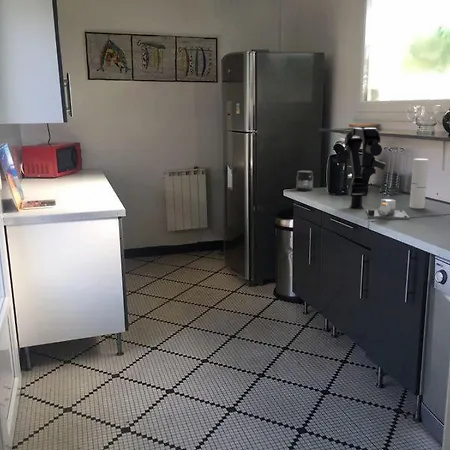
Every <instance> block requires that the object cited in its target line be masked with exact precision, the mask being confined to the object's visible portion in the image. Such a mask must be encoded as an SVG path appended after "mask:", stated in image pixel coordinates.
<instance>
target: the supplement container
mask: <svg viewBox="0 0 450 450" xmlns="http://www.w3.org/2000/svg"><path fill="white" fill-rule="evenodd" d="M296 174H297V175H296V187H295V188H296V190H297V191H299V192H311V191H313V189H314V176H313V174H314V172H313V171H312V170H298V171H297V173H296Z"/></svg>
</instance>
